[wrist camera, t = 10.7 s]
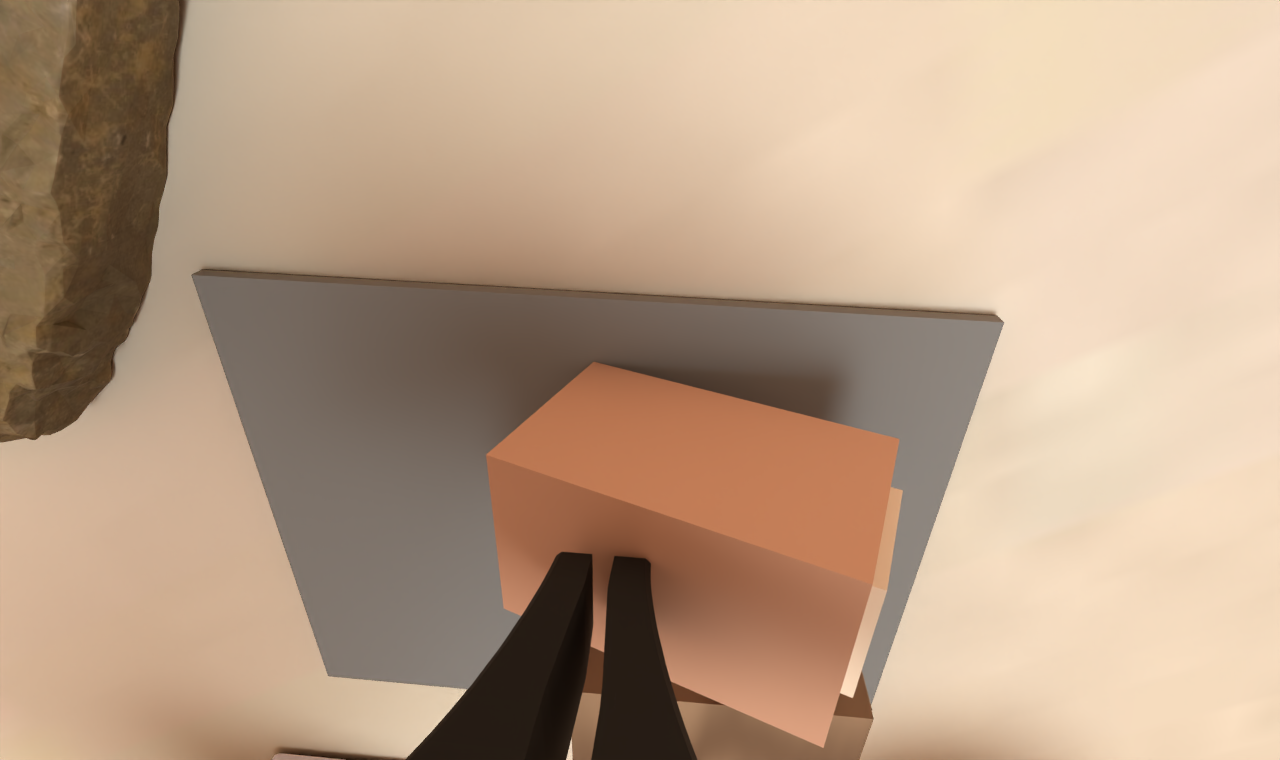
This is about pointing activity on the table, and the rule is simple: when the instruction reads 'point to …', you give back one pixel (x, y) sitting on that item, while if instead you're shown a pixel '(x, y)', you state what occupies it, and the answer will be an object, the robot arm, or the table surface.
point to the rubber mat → (506, 397)
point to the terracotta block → (710, 532)
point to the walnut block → (735, 726)
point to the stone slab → (76, 194)
